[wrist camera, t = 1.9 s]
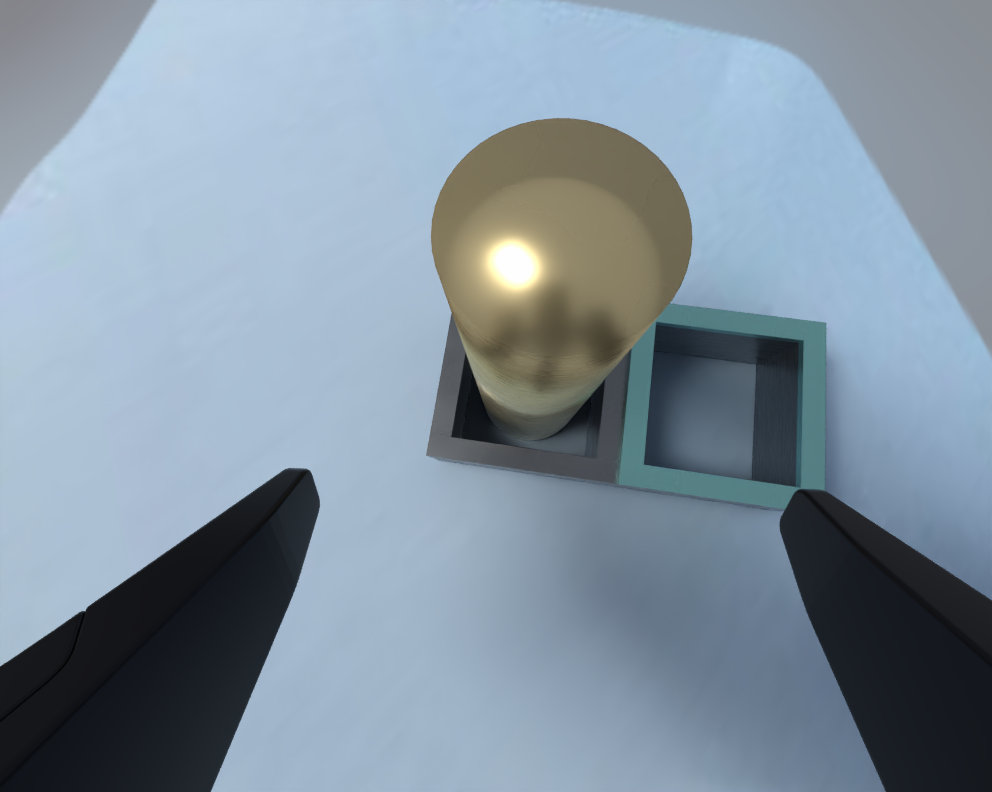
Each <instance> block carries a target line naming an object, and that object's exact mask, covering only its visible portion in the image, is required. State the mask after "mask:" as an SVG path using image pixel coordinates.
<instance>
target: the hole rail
mask: <svg viewBox="0 0 992 792" xmlns="http://www.w3.org/2000/svg"><path fill="white" fill-rule="evenodd" d="M653 351H659V352H666V353H674V354H682V355H689V356H697V357H705V358H712V359H720V360H728V361H735V362H743V363H751V364H756V388H755V413H754V439H753V464H752V481H751V480H745V479H738V478H731V477H724V476H717V475H710V474H704V473H697V472H690V471H683V470H676V469H670V468H663V467H656V466H649V465H644V456H645V444H646V433H647V421H648V409H649V398H650V386H651V374H652V363H653ZM471 377H472V369H471V366H470V363H469V360H468V357H467V355H466V352H465V349H464V346H463V343H462V340H461V337H460V335H459V332H458V329H457V326H456V323H455V320H454V318H453V315H452V314H451V320H450V325H449V331H448V337H447V342H446V348H445V353H444V359H443V365H442V370H441V376H440V381H439V387H438V393H437V398H436V404H435V409H434V415H433V421H432V426H431V432H430V437H429V443H428V449H427V454H426V456H429V457H432V458H435V459H437V460H441V461H448V462H454V463H461V464H468V465H474V466H481V467H488V468H494V469H501V470H508V471H514V472H521V473H528V474H534V475H541V476H548V477H554V478H561V479H567V480H574V481H581V482H587V483H594V484H601V485H607V486H614V487H621V488H627V489H634V490H641V491H647V492H654V493H660V494H667V495H674V496H680V497H687V498H694V499H700V500H707V501H714V502H720V503H727V504H734V505H740V506H747V507H753V508H760V509H767V510H775V511H785V509H786V507H787V505H788V503H789V501H790V499H791V497H792V495H793V494H794V492H795V491H797V490H798V489H820V490H824V491H825V412H826V323H824V322H815V321H807V320H799V319H791V318H783V317H775V316H767V315H759V314H750V313H742V312H734V311H726V310H718V309H710V308H702V307H694V306H685V305H677V304H668V306H667V307H666V308H665V309H664V311H663V312H662V313H661V314H660V315H659V317H658V318H657V319H656V320H655V321H654V322H653V324H652V325H651V326H650V327H649V328H648V329H647V331H646V332H645V333H644V334H643V335H642V336H641V338H640V339H639V340H638V341H637V342H636V343H635V345H634V346H633V347H632V348H631V349H630V351H629V352H628V353H627V354H626V355H625V356H624V358H623V359H622V360H621V361H620V362H619V363H618V365H617V366H616V367H615V368H614V369H613V370H612V372H611V373H610V374H609V375H608V376H607V377H606V379H605V380H604V381H603V382H602V383H601V384H600V386H599V387H598V388H597V389H596V390H595V392H594V393H593V394H592V397H591V406H590V415H589V424H588V433H587V442H586V451H585V457H583V456H576V455H569V454H562V453H555V452H549V451H542V450H535V449H528V448H521V447H515V446H508V445H501V444H494V443H487V442H481V441H474V440H467V439H461V438H462V432H463V426H464V420H465V414H466V408H467V402H468V396H469V390H470V384H471Z"/></svg>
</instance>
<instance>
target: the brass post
mask: <svg viewBox="0 0 992 792" xmlns="http://www.w3.org/2000/svg"><path fill="white" fill-rule="evenodd" d="M431 243H432V253H433V257H434V262H435V266H436V269H437V272H438V275H439V278H440V281H441V283H442V286H443V289H444V292H445V295H446V298H447V300H448V303H449V306H450V309H451V312H452V315H453V318H454V320H455V323H456V326H457V329H458V332H459V335H460V337H461V340H462V343H463V346H464V349H465V352H466V355H467V357H468V360H469V363H470V366H471V369H472V372H473V374H474V377H475V380H476V383H477V386H478V389H479V392H480V394H481V397H482V400H483V403H484V406H485V409H486V411H487V414H488V415H489V417H490V419H491V420H492V422H493V423H494V424H495V425H496V426H497V427H498V428H499V429H500V430H501V431H503V432H504V433H506V434H507V435H509V436H512V437H514V438H517V439H521V440H540V439H544V438H547V437H550V436H552V435H554V434H556V433H557V432H558V431H560V430H561V429H562V428H563V427H564V426H565V425H566V424H567V423H568V422H569V421H570V420H571V418H572V417H573V416H574V415H575V414H576V413H577V411H578V410H579V409H580V408H581V407H582V406H583V404H584V403H585V402H586V401H587V400H588V399H589V397H590V396H591V395H592V394H593V393H594V392H595V390H596V389H597V388H598V387H599V386H600V384H601V383H602V382H603V381H604V380H605V379H606V377H607V376H608V375H609V374H610V373H611V372H612V370H613V369H614V368H615V367H616V366H617V365H618V363H619V362H620V361H621V360H622V359H623V358H624V356H625V355H626V354H627V353H628V352H629V351H630V349H631V348H632V347H633V346H634V345H635V343H636V342H637V341H638V340H639V339H640V338H641V336H642V335H643V334H644V333H645V332H646V331H647V329H648V328H649V327H650V326H651V325H652V324H653V322H654V321H655V320H656V319H657V318H658V317H659V315H660V314H661V313H662V312H663V311H664V309H665V308H666V307H667V306H668V304H669V303H670V302H671V301H672V299H673V298H674V296H675V294H676V293H677V291H678V289H679V288H680V286H681V284H682V281H683V279H684V276H685V274H686V271H687V268H688V264H689V260H690V256H691V247H692V225H691V219H690V214H689V209H688V206H687V203H686V200H685V197H684V195H683V192H682V191H681V189H680V187H679V185H678V183H677V181H676V179H675V178H674V176H673V175H672V174H671V172H670V171H669V169H668V168H667V167H666V165H665V164H664V163H663V162H662V161H661V160H660V159H659V158H658V157H657V156H656V155H655V154H654V153H653V152H652V151H650V150H649V149H648V148H647V147H646V146H644V145H643V144H641V143H640V142H638V141H637V140H635V139H634V138H632V137H631V136H629V135H627V134H625V133H623V132H621V131H619V130H617V129H614V128H611V127H608V126H605V125H603V124H599V123H595V122H590V121H586V120H578V119H570V118H553V119H543V120H536V121H531V122H527V123H522V124H519V125H516V126H514V127H511V128H508V129H505V130H503V131H501V132H499V133H497V134H495V135H493V136H491V137H490V138H488V139H487V140H485V141H484V142H482V143H480V144H479V145H478V146H477V147H475V148H474V149H473V150H472V151H470V152H469V153H468V154H467V155H466V156H465V157H464V158H463V159H462V160H461V161H460V162H459V163H458V165H457V166H456V167H455V168H454V170H453V171H452V173H451V174H450V175H449V177H448V178H447V180H446V182H445V184H444V186H443V188H442V190H441V192H440V194H439V197H438V200H437V202H436V205H435V209H434V214H433V218H432V229H431Z"/></svg>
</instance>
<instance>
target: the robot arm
mask: <svg viewBox="0 0 992 792" xmlns="http://www.w3.org/2000/svg"><path fill="white" fill-rule="evenodd" d="M319 508H320V499H319V495H318V492H317V489H316V486H315V482H314V479H313V476H312V473H311V472H310V471H309V470H308V469H302V468H288V469H285V470H283V471H282V472H280V473H279V474H277V475H276V476H275V477H273V478H272V479H270V480H269V481H267V482H266V483H265V484H263V485H262V486H260V487H259V488H257V489H256V490H254V491H253V492H252V493H250V494H249V495H247V496H246V497H244V498H243V499H242V500H240V501H239V502H237V503H236V504H234V505H233V506H232V507H230V508H229V509H227V510H226V511H224V512H223V513H222V514H220V515H219V516H217V517H216V518H214V519H213V520H212V521H210V522H209V523H207V524H206V525H204V526H203V527H201V528H200V529H199V530H197V531H196V532H194V533H193V534H191V535H190V536H189V537H187V538H186V539H184V540H183V541H181V542H180V543H179V544H177V545H176V546H174V547H173V548H171V549H170V550H169V551H167V552H166V553H164V554H163V555H161V556H160V557H158V558H157V559H156V560H154V561H153V562H151V563H150V564H148V565H147V566H146V567H144V568H143V569H141V570H140V571H138V572H137V573H136V574H134V575H133V576H131V577H130V578H128V579H127V580H126V581H124V582H123V583H121V584H120V585H118V586H117V587H115V588H114V589H113V590H111V591H110V592H108V593H107V594H105V595H104V596H103V597H101V598H100V599H98V600H97V601H95V602H94V603H92V604H91V605H90V606H88V607H87V609H86V612H85V611H81V612H79V613H78V614H77V615H75V616H74V617H72V618H71V619H69V620H68V621H66V622H65V623H64V624H62V625H61V626H59V627H58V628H56V629H55V630H54V631H52V632H51V633H49V634H48V635H46V636H45V637H43V638H42V639H40V640H39V641H37V642H36V643H34V644H33V645H31V646H30V647H28V648H27V649H26V650H24V651H23V652H21V653H20V654H18V655H17V656H15V657H14V658H12V659H11V660H9V661H8V662H6V663H5V664H3V665H2V666H0V792H211V790H212V788H213V785H214V783H215V780H216V778H217V776H218V773H219V771H220V768H221V766H222V764H223V761H224V759H225V756H226V754H227V752H228V749H229V747H230V745H231V742H232V740H233V737H234V735H235V733H236V730H237V728H238V725H239V723H240V721H241V718H242V716H243V713H244V711H245V709H246V706H247V704H248V701H249V699H250V697H251V694H252V692H253V689H254V687H255V685H256V682H257V680H258V677H259V675H260V673H261V670H262V668H263V666H264V663H265V661H266V658H267V656H268V654H269V651H270V649H271V646H272V644H273V642H274V639H275V637H276V634H277V632H278V630H279V627H280V625H281V622H282V620H283V618H284V615H285V613H286V610H287V608H288V606H289V603H290V601H291V598H292V596H293V593H294V591H295V588H296V586H297V583H298V580H299V576H300V573H301V570H302V567H303V563H304V560H305V557H306V553H307V550H308V546H309V543H310V540H311V536H312V533H313V530H314V526H315V523H316V519H317V516H318V513H319ZM780 532H781V535H782V538H783V542H784V545H785V548H786V551H787V554H788V557H789V560H790V563H791V566H792V569H793V572H794V576H795V579H796V582H797V585H798V588H799V591H800V594H801V597H802V600H803V603H804V606H805V608H806V611H807V614H808V616H809V619H810V621H811V623H812V626H813V628H814V630H815V633H816V635H817V637H818V639H819V642H820V644H821V646H822V648H823V651H824V653H825V655H826V658H827V660H828V662H829V664H830V667H831V669H832V671H833V673H834V676H835V678H836V680H837V682H838V685H839V687H840V689H841V691H842V694H843V696H844V698H845V701H846V703H847V705H848V707H849V710H850V712H851V714H852V716H853V719H854V721H855V723H856V725H857V728H858V730H859V732H860V734H861V737H862V739H863V741H864V744H865V746H866V748H867V750H868V753H869V755H870V757H871V759H872V762H873V764H874V766H875V768H876V771H877V773H878V775H879V777H880V780H881V782H882V784H883V787H884V789H885V791H886V792H992V600H990V599H989V598H987V597H986V596H984V595H983V594H981V593H980V592H978V591H977V590H975V589H974V588H972V587H971V586H969V585H968V584H966V583H965V582H963V581H962V580H960V579H959V578H957V577H955V576H954V575H952V574H951V573H949V572H948V571H946V570H945V569H943V568H942V567H940V566H939V565H937V564H936V563H934V562H933V561H931V560H930V559H928V558H927V557H925V556H924V555H922V554H921V553H919V552H917V551H916V550H914V549H913V548H911V547H910V546H908V545H907V544H905V543H904V542H902V541H901V540H899V539H898V538H896V537H895V536H893V535H892V534H890V533H889V532H887V531H886V530H884V529H883V528H881V527H879V526H878V525H876V524H875V523H873V522H872V521H870V520H869V519H867V518H866V517H864V516H863V515H861V514H860V513H858V512H857V511H855V510H854V509H852V508H851V507H849V506H848V505H846V504H845V503H843V502H841V501H840V500H838V499H837V498H835V497H834V496H832V495H831V494H829V493H828V492H826V491H824V490H820V489H798V490H797V491H795V492H794V494H793V495H792V497H791V499H790V501H789V503H788V505H787V507H786V509H785V511H784V513H783V515H782V516H781V519H780Z"/></svg>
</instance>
